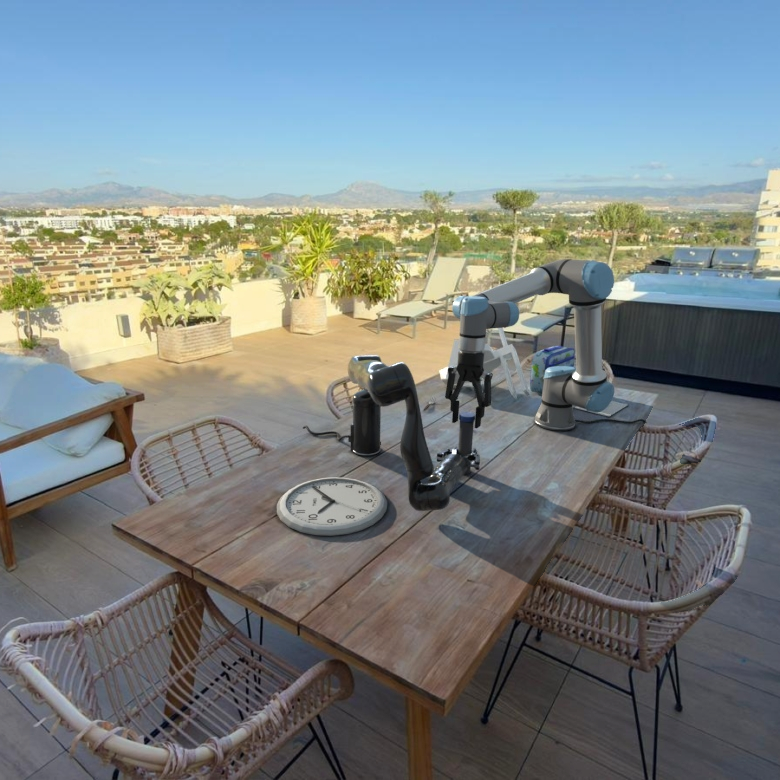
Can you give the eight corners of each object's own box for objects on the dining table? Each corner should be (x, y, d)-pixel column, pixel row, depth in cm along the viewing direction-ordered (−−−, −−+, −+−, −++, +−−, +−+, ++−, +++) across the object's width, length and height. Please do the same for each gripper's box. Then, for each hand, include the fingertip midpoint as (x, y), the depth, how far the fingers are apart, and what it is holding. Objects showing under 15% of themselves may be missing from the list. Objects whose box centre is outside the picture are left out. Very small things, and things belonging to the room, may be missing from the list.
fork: (420, 411, 216) (420, 406, 216) (430, 400, 230) (431, 395, 230) (426, 412, 215) (426, 407, 215) (436, 401, 230) (436, 396, 229)
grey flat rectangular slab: (608, 416, 214) (573, 407, 224) (608, 416, 214) (573, 408, 224) (628, 404, 229) (594, 396, 238) (628, 405, 229) (594, 397, 238)
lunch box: (546, 399, 235) (551, 353, 228) (525, 393, 242) (530, 349, 236) (574, 387, 252) (579, 345, 246) (553, 383, 260) (558, 341, 253)
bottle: (454, 471, 164) (457, 415, 158) (461, 467, 167) (465, 412, 161) (465, 475, 161) (469, 419, 156) (472, 471, 164) (476, 415, 159)
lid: (455, 419, 159) (456, 414, 158) (464, 415, 162) (465, 410, 162) (469, 423, 156) (469, 418, 155) (477, 419, 159) (478, 414, 159)
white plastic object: (461, 429, 252) (437, 405, 227) (444, 352, 274) (420, 323, 250) (535, 404, 240) (518, 377, 215) (510, 326, 262) (492, 293, 237)
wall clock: (392, 527, 129) (268, 531, 127) (391, 533, 130) (269, 537, 127) (383, 473, 158) (282, 475, 155) (383, 478, 158) (282, 480, 156)
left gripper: (474, 464, 146) (490, 442, 161) (427, 454, 152) (446, 434, 166) (472, 488, 148) (488, 465, 163) (426, 478, 154) (445, 456, 169)
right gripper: (508, 353, 150) (501, 427, 157) (447, 343, 161) (443, 414, 167) (498, 357, 144) (491, 435, 151) (435, 348, 155) (431, 420, 161)
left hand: (467, 449), depth 165 cm, fingers closed on bottle, 4 cm apart
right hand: (466, 424), depth 159 cm, fingers open, 7 cm apart
